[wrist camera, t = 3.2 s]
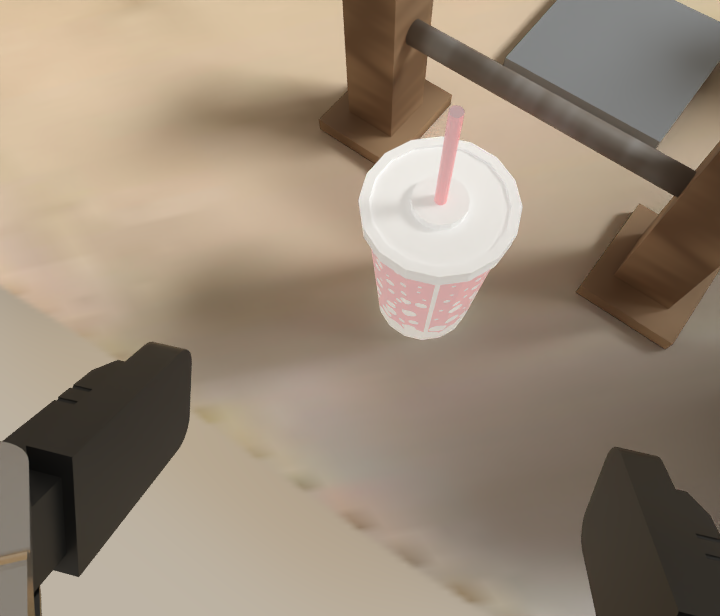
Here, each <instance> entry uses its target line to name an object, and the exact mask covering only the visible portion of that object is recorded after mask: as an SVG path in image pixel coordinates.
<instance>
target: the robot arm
mask: <svg viewBox="0 0 720 616" xmlns="http://www.w3.org/2000/svg"><path fill="white" fill-rule="evenodd" d="M191 366H192V359H191V354H190V352H189V351H188V350H186V349H182V348H178V347H173V346H169V345H164V344H160V343H155V342H149V343H147V344H146V345H144V346H143V347H142V348H141V349H140V350H138V351H137V352H136V353H135V354H134V355H133V356H131V357H130V358H129V359H128V360H127V361H125V362H124V361H120V360H117V361H114V362H111V363H109V364H106V365H104V366H102V367H99V368H96V369H94V370H92V371H90V372H89V373H88V374H87V375H85V376H84V377H83V378H82V379H81V380H79V381H78V382H76V383H75V384H74V386H73V388H69V389H68V390H66V391H65V392H64V393H63V394H61V395H60V396H59V397H58V400H57V401H56V400H54V401H52V402H51V403H50V404H49V405H47V406H46V407H45V408H44V409H43V410H41V411H40V412H39V413H38V414H36V415H35V416H34V417H32V418H31V419H30V420H29V421H27V422H26V423H25V424H24V425H22V426H21V427H20V428H18V429H17V430H16V431H15V432H13V433H12V434H11V435H10V436H8V437H7V438H6V439H5V440H3V441H0V616H42V613H41V590H40V585H41V584H42V582H43V581H44V580H45V579H46V578H47V576H48V575H49V574H50V573H51V572H52V571H53V570H55V571H59V572H62V573H66V574H70V575H73V576H77V577H79V576H80V575H81V574H82V572H83V571H84V570H85V569H86V567H87V566H88V565H89V563H90V562H91V561H92V559H93V558H94V557H95V556H96V555H97V553H98V552H99V551H100V549H101V548H102V547H103V546H104V544H105V543H106V542H107V540H108V539H109V538H110V536H111V535H112V534H113V533H114V531H115V530H116V529H117V528H118V526H119V525H120V524H121V522H122V521H123V520H124V519H125V517H126V516H127V515H128V513H129V512H130V510H132V508H133V507H134V506H135V504H136V503H137V502H138V500H139V499H140V497H142V495H143V494H144V493H145V491H146V490H147V489H148V488H149V486H150V485H151V484H152V483H153V481H154V480H155V479H156V477H157V476H158V475H159V474H160V472H161V471H162V470H163V468H164V467H165V466H166V465H167V463H168V462H169V461H170V459H171V458H172V457H173V456H174V454H175V453H176V452H177V450H178V449H179V447H180V446H181V444H182V442H183V440H184V438H185V435H186V432H187V428H188V423H189V416H190V392H191ZM581 544H582V551H583V556H584V561H585V565H586V570H587V575H588V579H589V584H590V589H591V593H592V598H593V603H594V607H595V612H596V616H720V534H719V532H718V530H717V528H716V526H715V524H714V522H713V520H712V519H711V517H710V515H709V514H708V513H707V512H706V511H705V510H704V509H703V508H702V507H701V506H700V505H699V504H698V503H697V502H696V501H695V500H694V499H693V498H692V497H691V496H690V495H689V494H688V493H687V492H685V491H681V490H676V489H675V488H674V486H673V483H672V481H671V479H670V477H669V475H668V473H667V470H666V468H665V466H664V464H663V462H662V460H661V459H660V458H659V457H658V456H654V455H649V454H645V453H640V452H636V451H632V450H627V449H623V448H618V447H614V448H612V449H611V450H610V452H609V453H608V455H607V457H606V460H605V462H604V465H603V468H602V470H601V473H600V475H599V478H598V481H597V483H596V486H595V489H594V491H593V494H592V496H591V499H590V502H589V504H588V507H587V510H586V512H585V515H584V519H583V525H582V534H581Z"/></svg>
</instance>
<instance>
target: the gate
mask: <svg viewBox="0 0 720 616" xmlns="http://www.w3.org/2000/svg"><path fill="white" fill-rule="evenodd" d="M342 1H343V17H344V34H345V51H346V67H347V84H348V91H347V92H346V93H345V94H344V95H343V96H342V97H341V98H340V99H339V100H338V101H337V102H336V103H335V104H334V105H333V106H332V107H331V108H330V109H329V110H328V111H327V112H326V113H325V114H324V115H323V116H322V117H321V118H320V119H319V123H320V129H321V130H323V131H324V132H326V133H328V134H329V135H331V136H332V137H334V138H335V139H337V140H339V141H340V142H342V143H343V144H345V145H346V146H348V147H350V148H351V149H353V150H354V151H356V152H357V153H359V154H360V155H362V156H364V157H365V158H367V159H368V160H370V161H371V162H373V163H375V164H376V163H377V162H378V160H379V159H380V158H381V157H382V156H383V155H384V154H385V153H386V152H388V151H390V150H392V149H394V148H396V147H398V146H400V145H402V144H404V143H406V142H408V141H410V140H416V139H420V137H421V136H422V135H423V134H424V133H425V132H426V131H427V130H428V129H429V127H430V126H431V125H432V124H433V123H434V122H435V121H436V120H437V119H438V118H439V116H440V115H441V114H442V113H443V112H444V111H445V110H446V109H447V108H448V107H449V105H450V104H451V98H452V95H451V94H450V93H448V92H446V91H444V90H443V89H441V88H439V87H437V86H436V85H434V84H432V83H431V82H429V81H427V80H425V75H426V65H427V56H428V57H430V58H432V59H434V60H435V61H437V62H439V63H441V64H443V65H444V66H446V67H448V68H450V69H451V70H453V71H455V72H457V73H458V74H460V75H462V76H464V77H466V78H467V79H469V80H471V81H473V82H474V83H476V84H478V85H480V86H481V87H483V88H485V89H487V90H488V91H490V92H492V93H494V94H496V95H497V96H499V97H501V98H503V99H504V100H506V101H508V102H510V103H511V104H513V105H515V106H517V107H518V108H520V109H522V110H524V111H526V112H527V113H529V114H531V115H533V116H534V117H536V118H538V119H540V120H541V121H543V122H545V123H547V124H548V125H550V126H552V127H554V128H556V129H557V130H559V131H561V132H563V133H564V134H566V135H568V136H570V137H571V138H573V139H575V140H577V141H579V142H580V143H582V144H584V145H586V146H587V147H589V148H591V149H593V150H594V151H596V152H598V153H600V154H601V155H603V156H605V157H607V158H609V159H610V160H612V161H614V162H616V163H617V164H619V165H621V166H623V167H624V168H626V169H628V170H630V171H631V172H633V173H635V174H637V175H639V176H640V177H642V178H644V179H646V180H647V181H649V182H651V183H653V184H654V185H656V186H658V187H660V188H662V189H663V190H665V191H667V192H669V193H670V194H672V195H674V197H673V198H672V199H671V200H670V202H669V203H668V204H667V205H666V206H665V208H664V209H663V210H662V211H661V212H660V214H659V215H658V214H657V213H655V212H653V211H652V210H650V209H648V208H646V207H645V206H643V205H641V204H639V205H638V206H637V208H636V209H635V210H634V212H633V213H632V214H631V216H630V217H629V219H628V220H627V221H626V223H625V224H624V226H623V227H622V228H621V230H620V231H619V233H618V234H617V235H616V237H615V238H614V240H613V241H612V242H611V244H610V245H609V247H608V248H607V249H606V251H605V252H604V254H603V255H602V256H601V258H600V259H599V261H598V262H597V263H596V265H595V266H594V268H593V269H592V270H591V272H590V273H589V275H588V276H587V277H586V279H585V280H584V282H583V283H582V284H581V286H580V287H579V289H578V290H577V291H576V293H578V294H579V295H581V296H583V297H584V298H586V299H587V300H589V301H590V302H592V303H594V304H595V305H597V306H598V307H600V308H601V309H603V310H604V311H606V312H608V313H609V314H611V315H612V316H614V317H615V318H617V319H619V320H620V321H622V322H623V323H625V324H626V325H628V326H629V327H631V328H633V329H634V330H636V331H637V332H639V333H640V334H642V335H644V336H645V337H647V338H648V339H650V340H651V341H653V342H655V343H656V344H658V345H659V346H661V347H662V348H664V349H666V348H668V347H669V346H671V345H672V344H673V343H674V341H675V340H676V338H677V336H678V335H679V333H680V332H681V330H682V329H683V327H684V325H685V324H686V322H687V321H688V319H689V317H690V316H691V314H692V313H693V311H694V310H695V308H696V306H697V305H698V303H699V302H700V300H701V298H702V297H703V295H704V294H705V292H706V290H707V289H708V287H709V286H710V284H711V283H712V281H713V279H714V278H715V276H716V275H717V273H718V271H719V270H720V142H719V143H718V144H717V145H716V146H715V148H714V149H713V150H712V151H711V152H710V154H709V155H708V156H707V157H706V158H705V160H704V161H703V162H702V163H701V164H700V166H699V167H698V168H697V169H696V170H695V171H694V170H692V169H691V168H689V167H687V166H685V165H683V164H681V163H680V162H678V161H676V160H674V159H672V158H671V157H669V156H667V155H665V154H663V153H661V152H660V151H658V150H656V149H654V148H652V147H651V146H649V145H647V144H645V143H643V142H641V141H640V140H638V139H636V138H634V137H632V136H631V135H629V134H627V133H625V132H623V131H621V130H620V129H618V128H616V127H614V126H612V125H611V124H609V123H607V122H605V121H603V120H601V119H600V118H598V117H596V116H594V115H592V114H591V113H589V112H587V111H585V110H583V109H581V108H580V107H578V106H576V105H574V104H572V103H571V102H569V101H567V100H565V99H563V98H561V97H560V96H558V95H556V94H554V93H552V92H550V91H549V90H547V89H545V88H543V87H541V86H540V85H538V84H536V83H534V82H532V81H530V80H529V79H527V78H525V77H523V76H521V75H520V74H518V73H516V72H514V71H512V70H510V69H509V68H507V67H505V66H503V65H501V64H500V63H498V62H496V61H494V60H492V59H490V58H489V57H487V56H485V55H483V54H481V53H480V52H478V51H476V50H474V49H472V48H470V47H469V46H467V45H465V44H463V43H461V42H460V41H458V40H456V39H454V38H452V37H450V36H449V35H447V34H445V33H443V32H441V31H440V30H438V29H436V28H434V27H432V26H431V17H432V7H433V0H342Z"/></svg>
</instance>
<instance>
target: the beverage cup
mask: <svg viewBox="0 0 720 616" xmlns="http://www.w3.org/2000/svg"><path fill="white" fill-rule="evenodd" d="M464 113H465V111H464V109H463V108H462V107H461V106H457V105H456V106H452V107H451V108H450V109H449V112H448V119H447V125H446V131H445V137H442V136H441V137H432V138H424V139H416V140H410V141H408V142H406V143H404V144H402V145H400V146H398V147H396V148H394V149H392V150H390V151H388V152H386V153H385V154H384V155H383V156H382V157H381V158H380V159H379V160H378V162H377V163H376V164H375V165H374V166H373V167H372V168H371V169H370V170H369V172H368V173H367V174H366V177H365V180H364V184H363V187H362V190H361V193H360V196H359V199H358V200H359V209H360V216H361V222H362V229H363V235H364V238H365V240H366V241H367V243H368V244H369V246H370V247H371V250H372V257H373V264H374V271H375V278H376V285H377V292H378V299H379V305H380V311H381V313H382V314H383V316H384V318H385V319H386V321H387V322H388V324H389V325H390V326H391V327H392V328H394V329H395V330H397V331H398V332H399V333H401V334H402V335H404V336H407V337H412V338H416V339H420V340H425V339H432V338H439V337H441V336H443V335H445V334H446V333H448V332H450V331H452V330H454V329H455V328H456V326H457V325H458V324H459V322H460V321H461V320H462V318H463V317H464V316H465V314H466V312H467V310H468V308H469V307H470V305H471V303H472V301H473V300H474V298H475V296H476V294H477V292H478V291H479V289H480V287H481V285H482V284H483V282H484V280H485V278H486V276H487V275H488V273H489V271H490V269H492V268H493V267H495V266H496V265H497V263H498V262H499V261H500V259H501V258H502V257H503V255H504V254H505V253H506V251H507V250H508V249H509V247H510V246H511V245H512V242H513V241H514V239H515V238H516V236H517V233H518V228H519V223H520V218H521V212H522V207H523V206H522V203H521V199H520V195H519V192H518V188H517V184H516V181H515V179H514V178H513V176H512V175H511V174H510V173H509V172H508V170H507V169H506V168H505V167H504V165H503V164H502V163H501V162H500V160H499V159H498V158H497V157H495V156H494V155H492V154H490V153H489V152H487V151H485V150H483V149H482V148H480V147H478V146H477V145H475V144H473V143H471V142H467V141H462V140H459V138H460V133H461V128H462V123H463V118H464Z"/></svg>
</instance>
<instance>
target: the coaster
mask: <svg viewBox="0 0 720 616" xmlns="http://www.w3.org/2000/svg"><path fill="white" fill-rule="evenodd" d="M719 62H720V22H719V21H717V20H715V19H713V18H711V17H708V16H706V15H704V14H702V13H700V12H698V11H696V10H694V9H692V8H690V7H687V6H685V5H683V4H681V3H679V2H677V1H675V0H557V1H556V2H555V3H554V4H553V5H552V6H551V7H550V9H549V10H548V11H547V12H546V13H545V14H544V15H543V16H542V18H541V19H540V20H539V21H538V22H537V23H536V24H535V25H534V26H533V28H532V29H531V30H530V31H529V32H528V33H527V34H526V35H525V36H524V38H523V39H522V40H521V41H520V42H519V43H518V44H517V45H516V47H515V48H514V49H513V50H512V51H511V52H510V53H509V54H508V55H507V57H506V58H505V61H504V65H503V66H505V67H507V68H509V69H510V70H512V71H514V72H516V73H518V74H520V75H521V76H523V77H525V78H527V79H529V80H530V81H532V82H534V83H536V84H538V85H540V86H541V87H543V88H545V89H547V90H549V91H550V92H552V93H554V94H556V95H558V96H560V97H561V98H563V99H565V100H567V101H569V102H571V103H572V104H574V105H576V106H578V107H580V108H581V109H583V110H585V111H587V112H589V113H591V114H592V115H594V116H596V117H598V118H600V119H601V120H603V121H605V122H607V123H609V124H611V125H612V126H614V127H616V128H618V129H620V130H621V131H623V132H625V133H627V134H629V135H631V136H632V137H634V138H636V139H638V140H640V141H641V142H643V143H645V144H647V145H649V146H651V147H652V148H654V149H656V148H657V146H658V145H659V144H660V142H661V141H662V140H663V138H664V137H665V135H666V134H667V133H668V131H669V130H670V129H671V127H672V126H673V124H674V123H675V122H676V120H677V119H678V118H679V116H680V115H681V114H682V112H683V111H684V109H685V108H686V107H687V105H688V104H689V103H690V101H691V100H692V98H693V97H694V96H695V94H696V93H697V92H698V90H699V89H700V88H701V86H702V85H703V83H704V82H705V81H706V79H707V78H708V77H709V75H710V74H711V72H712V71H713V70H714V68H715V67H716V66H717V64H718V63H719Z"/></svg>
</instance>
